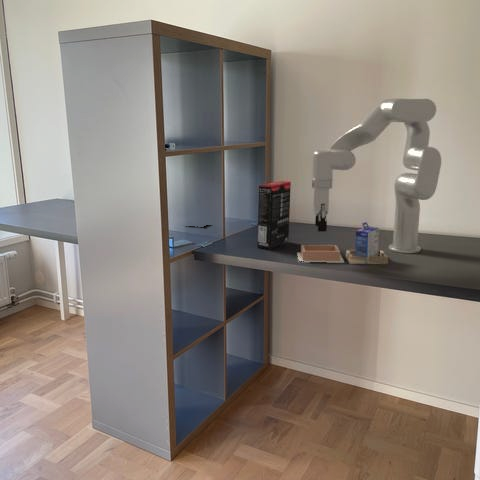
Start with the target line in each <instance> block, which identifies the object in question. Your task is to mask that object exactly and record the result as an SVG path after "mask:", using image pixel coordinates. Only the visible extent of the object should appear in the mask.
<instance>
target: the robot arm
mask: <svg viewBox="0 0 480 480" xmlns="http://www.w3.org/2000/svg"><path fill="white" fill-rule="evenodd" d="M436 113H437V106H436V103H435V102H434V101H433V100H432V99H430V98H388V99H383V100H381V101H379V102H378V103H377V104H376V106H374V107H373V108H372V109H371V111H370V112H369V113H368V114H367V115H365V117H364V118H363V119H362V120H361V121H360V122H359V123H358V125H356V126H355V127H353V128H351V129H350V130H348V131H347V132H345V133H344V134H342V135H341V136H340V137H338V139H336V140H335V141H334V142H333V143H332V145H330V147H329V148H328V149H326V150H316V151H314V152H313V154H312V170H311V171H312V179H311V188H312V189H313V206H312V212H313V214H314V215H315V222H314V225H315V226H316V227H317V232H319V233H320V232H321V233H322V232H324V233H325V232H327V228H328V227H327V225H328V221H327V220H328V219H327V215H329V205H330V204H329V203H330V190H331V189H333V181H334V180H333V174H334V170H336V171H337V170H338V171H348V170H350V169H352V168H353V167H354V166H355V164H356V162H357V161H356V155H355V154H354V153H353V150H355V149H357V148H359V147H363V146H365V145H368V144H370V143H373V142H374V141H375V140H376V139H377V138H378V137H379V136H380V135H381V134H382V133H383V132H384V131H385V130H386V129H387V127H388V126H390V124H391V123H403V124H404V126H405V129H406V141H405V144H404V145H405V146H404V151H403V157H402V164H403V166H404V168H406V169H408V170H413V171H417V173H414V172H404V173H401V174H400V175H398V176H397V177H396V179H395V181H394V186H393V187H394V196H395V197H394V198H395V207H394V208H395V210H394V211H395V212H394V221H393V222H394V223H393V237H392V238H393V239H392V243H390V244H389V245H388V250H390V251H392V252H396V253H400V254H401V253H402V254H415V253H416V254H417V253H419V252H421V249H422V247H420V246H419V245H418V238H419V237H418V236H419V225H420V224H419V223H420V212H421V204H420V201H427V200H429V199H431V198H433V196H434V195H435V193H436V189H437V187H438V181H439V178H440V173H441V172H440V171H441V168H442V167H441V166H442V155H441V152H440V151H439V150H438V149H437V148H435V147H433V146H429V143H430V135H431V132H430V131H431V130H430V126H429V124H428V122H429V121H431V120H432V119H433V118H434V117H435V115H436Z"/></svg>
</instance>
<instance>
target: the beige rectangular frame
mask: <svg viewBox="0 0 480 480" xmlns="http://www.w3.org/2000/svg"><path fill="white" fill-rule="evenodd" d="M355 255H356V249H345V258H346V260H347V261H348V264H350V265H353V264H354V265H355V264H356V265H358V264H359V265H361V264H362V265H365V264H366V263H365V257H362V256H355ZM388 264H389V256H388V255H387V254H386V253H385V251H383V249H381V250H379V249H378V256H370V257H369V260H368V263H367V265H388Z"/></svg>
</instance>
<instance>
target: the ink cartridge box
mask: <svg viewBox="0 0 480 480" xmlns="http://www.w3.org/2000/svg"><path fill="white" fill-rule="evenodd" d="M361 224H362V226H363V227H362V228H360V229H357V230H355V250H356V255H355V256H362V257H365V263H366V264H367V263H368V260H369V257H370V256H378V250H379V234H380V233H379V231H380V229H379V227H376V226H375V227H374V226H369V225H368V222H367V221H365V222H363V223H361ZM367 265H368V264H367Z"/></svg>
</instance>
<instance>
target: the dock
mask: <svg viewBox="0 0 480 480" xmlns="http://www.w3.org/2000/svg"><path fill="white" fill-rule="evenodd" d="M296 256H298V257H297V261H298V260H299V261H302V262H301V263H310V262H327V263H329V264H332V263H333V264H334V263H336V264H345V261H344V259H343V257H342V255H341V251H340V248H339V247H338V245H337V244H301V245H300V252H296ZM299 261H298V262H299ZM303 261H304V262H303Z"/></svg>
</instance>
